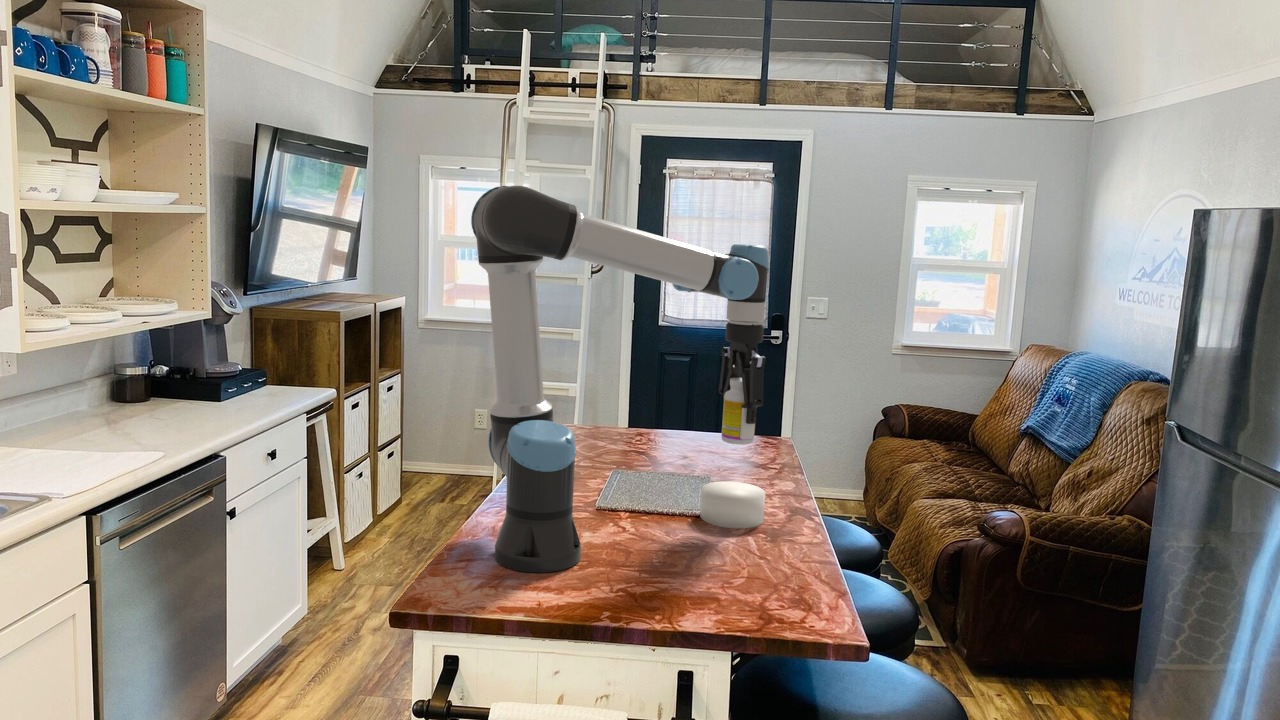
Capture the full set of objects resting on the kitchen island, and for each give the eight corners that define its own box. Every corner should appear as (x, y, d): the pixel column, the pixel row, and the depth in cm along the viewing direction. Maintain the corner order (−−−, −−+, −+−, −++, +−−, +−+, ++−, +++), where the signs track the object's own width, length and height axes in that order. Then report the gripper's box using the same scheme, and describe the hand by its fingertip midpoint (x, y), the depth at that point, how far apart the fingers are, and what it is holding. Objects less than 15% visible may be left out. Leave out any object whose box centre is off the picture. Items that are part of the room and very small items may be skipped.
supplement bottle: (752, 446, 183) (756, 383, 181) (719, 443, 184) (723, 380, 182) (755, 439, 190) (759, 378, 188) (723, 436, 191) (727, 375, 189)
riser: (729, 533, 180) (731, 503, 180) (687, 514, 191) (689, 486, 190) (776, 522, 188) (778, 494, 187) (734, 505, 198) (735, 478, 198)
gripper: (787, 328, 176) (779, 445, 179) (737, 316, 194) (730, 423, 197) (753, 328, 173) (745, 447, 176) (705, 316, 191) (699, 424, 194)
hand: (737, 434), depth 187 cm, fingers closed on supplement bottle, 7 cm apart
